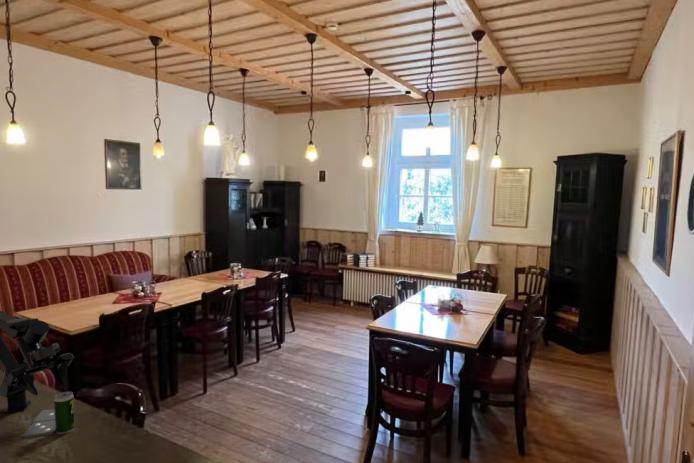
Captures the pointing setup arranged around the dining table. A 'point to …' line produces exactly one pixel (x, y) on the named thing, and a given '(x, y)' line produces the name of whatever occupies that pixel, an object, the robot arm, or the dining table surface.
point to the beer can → (64, 412)
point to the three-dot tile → (40, 429)
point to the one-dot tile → (45, 416)
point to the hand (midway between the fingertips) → (52, 389)
